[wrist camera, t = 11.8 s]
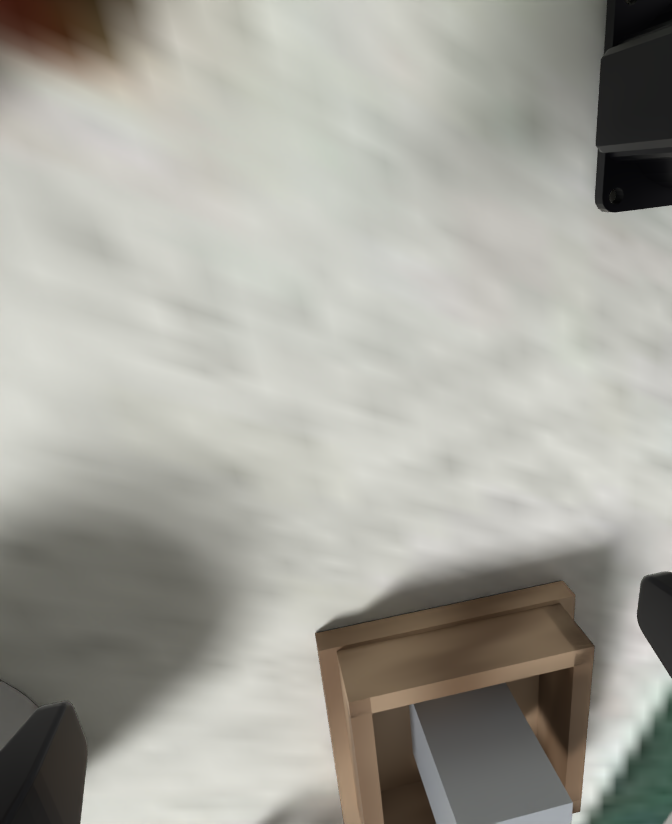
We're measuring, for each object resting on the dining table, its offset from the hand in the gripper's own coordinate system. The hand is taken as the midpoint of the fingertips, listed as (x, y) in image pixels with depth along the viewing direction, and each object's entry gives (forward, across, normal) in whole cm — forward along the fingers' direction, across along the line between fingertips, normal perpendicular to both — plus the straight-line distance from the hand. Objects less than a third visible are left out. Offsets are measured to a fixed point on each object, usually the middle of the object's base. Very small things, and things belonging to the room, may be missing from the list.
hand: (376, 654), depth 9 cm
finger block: (+11, -5, +15) cm, 20 cm away
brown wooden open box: (+12, -5, +18) cm, 22 cm away
